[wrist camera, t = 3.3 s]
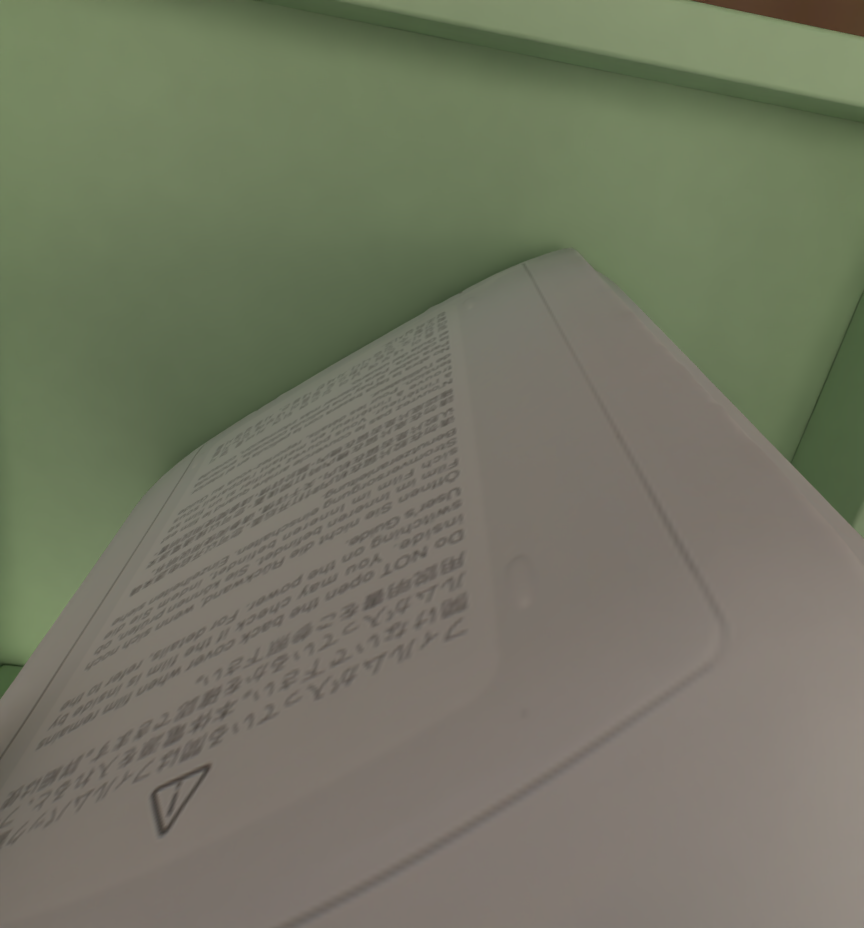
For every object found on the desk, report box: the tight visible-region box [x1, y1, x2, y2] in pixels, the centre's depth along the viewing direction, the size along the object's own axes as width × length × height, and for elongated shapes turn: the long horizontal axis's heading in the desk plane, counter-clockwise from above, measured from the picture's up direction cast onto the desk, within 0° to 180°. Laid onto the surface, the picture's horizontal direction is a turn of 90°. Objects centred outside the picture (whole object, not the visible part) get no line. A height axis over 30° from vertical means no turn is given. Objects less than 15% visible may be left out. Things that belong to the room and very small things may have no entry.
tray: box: [0, 0, 864, 699], centre depth 14 cm, size 18×16×3 cm
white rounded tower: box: [0, 248, 864, 928], centre depth 9 cm, size 10×4×12 cm, turn 121°
